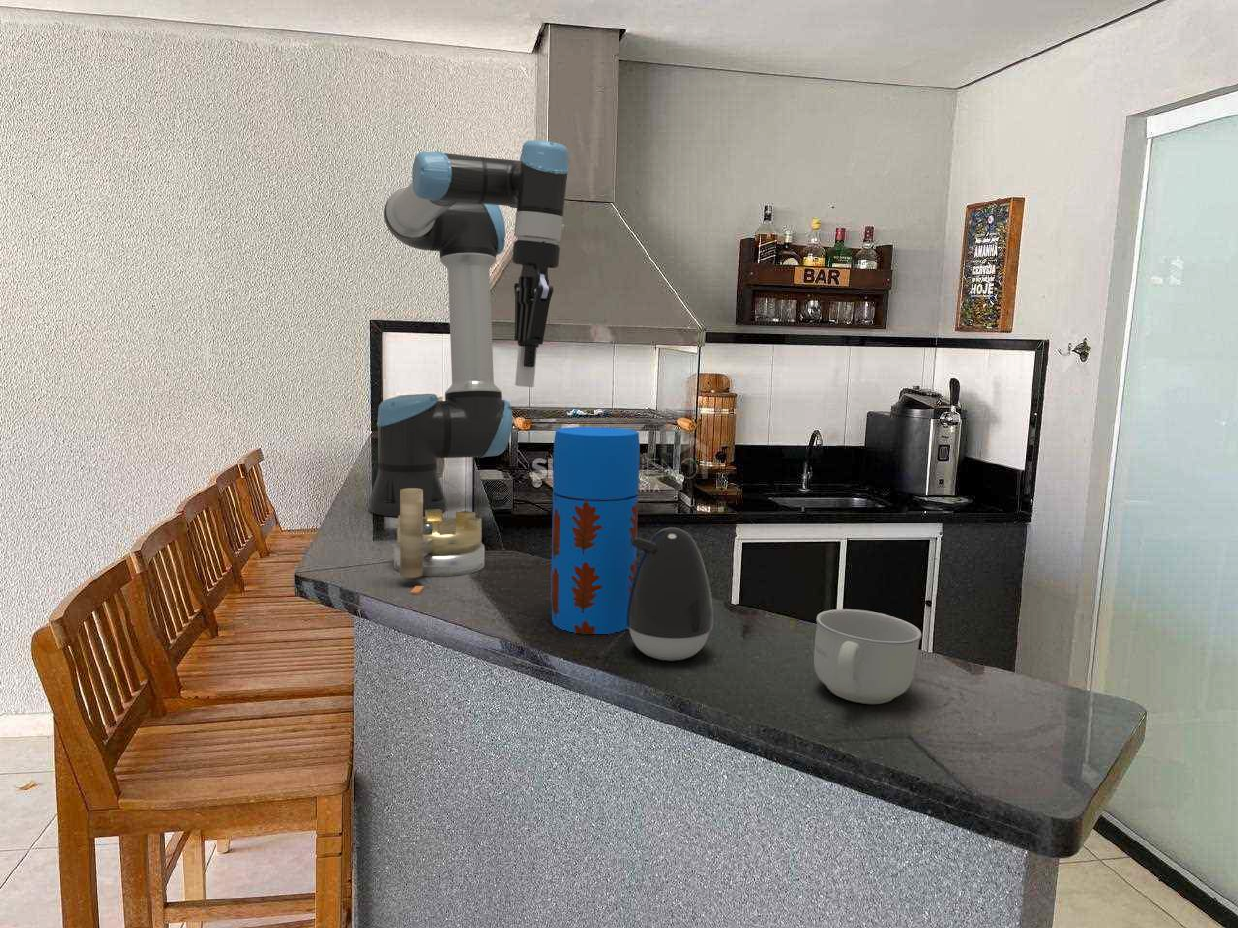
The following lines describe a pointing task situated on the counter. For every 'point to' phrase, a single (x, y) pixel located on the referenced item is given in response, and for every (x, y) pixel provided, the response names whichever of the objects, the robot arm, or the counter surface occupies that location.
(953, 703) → the counter surface
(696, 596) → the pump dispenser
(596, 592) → the thermos
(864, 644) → the teacup
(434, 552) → the studded brass turntable
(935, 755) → the counter surface
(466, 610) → the counter surface
